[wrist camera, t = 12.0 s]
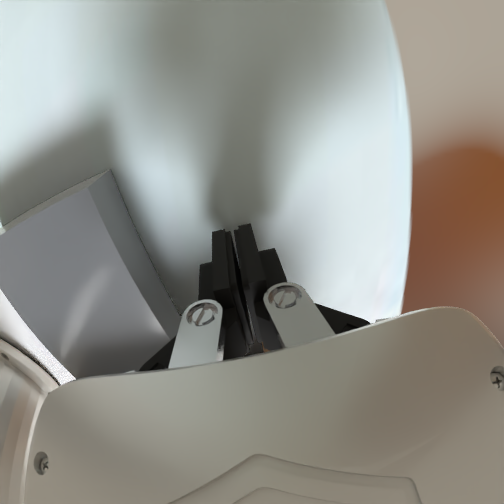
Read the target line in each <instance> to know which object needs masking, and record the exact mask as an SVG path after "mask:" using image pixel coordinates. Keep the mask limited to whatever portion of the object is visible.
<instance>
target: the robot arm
mask: <svg viewBox="0 0 504 504" xmlns="http://www.w3.org/2000/svg"><path fill="white" fill-rule="evenodd" d="M238 228H239V229H238V230H234V234H235V241H236V247H237V254H238V260H239V264H238V260H237V256H236V252H235V248H234V244H233V240H232V236H231V232H230V231H229V232H225V229H223V230H218V231H214V232H212V262H209V263H205V264H201V265H200V275H199V299H198V301H197V302H195V303H193V304H191V305H190V306H188V307H187V309H186V310H185V311H184V313H183V315H182V318H181V322H180V326H179V329H178V333H177V335H176V336H175V337H174V338H173V339H171V340H170V341H169V342H168V343H167V344H166V345H165V346H164V347H163V348H161V349H160V350H159V351H158V352H157V353H156V354H155V355H154V356H152V357H151V358H150V359H149V360H148V361H147V362H146V363H145V364H144V365H143V366H142V367H141V368H140V370H139V372H135V371H134V370H132V371H129V372H126V373H121V374H110V375H100V376H91V377H85V378H80V379H76V380H73V381H70V382H67V383H65V384H63V385H60V386H59V385H58V384H57V383H56V382H55V381H54V380H53V379H52V377H51V376H50V375H49V374H48V373H46V372H45V371H44V370H43V369H42V368H41V367H40V366H39V365H37V364H36V363H35V362H34V361H32V360H31V359H30V358H29V357H27V356H26V355H25V354H23V353H22V352H20V351H19V350H18V349H16V348H15V347H13V346H12V345H10V344H9V343H7V342H5V341H4V340H2V339H0V504H504V348H503V347H502V346H501V344H500V343H499V342H498V340H497V339H496V338H495V336H494V335H493V334H492V333H491V331H490V330H489V329H488V328H487V327H486V326H485V325H484V324H483V323H482V322H481V321H480V320H479V319H478V318H477V317H476V316H475V315H473V314H472V313H470V312H468V311H467V310H464V309H461V308H456V307H433V308H427V309H421V310H417V311H413V312H408V313H405V314H402V315H399V316H396V317H392V318H387V319H379V320H376V322H375V323H372V324H370V323H369V322H368V321H366V320H364V319H361V318H358V317H355V316H352V315H349V314H346V313H343V312H340V311H337V310H334V309H331V308H328V307H325V306H322V305H319V304H316V303H314V302H313V301H312V299H311V298H310V296H309V295H308V294H307V292H306V291H305V289H304V288H303V287H302V286H300V285H298V284H296V283H291V282H287V280H286V277H285V274H284V271H283V269H282V266H281V263H280V261H279V258H278V255H277V253H276V250H275V248H273V249H268V250H263V251H259V252H258V249H257V245H256V242H255V238H254V234H253V231H252V227H251V224H245V225H241V226H238ZM239 267H240V268H239ZM247 305H248V307H247ZM248 308H249V312H250V316H251V320H252V323H253V327H254V331H255V335H256V338H257V342H258V343H259V342H263V345H264V348H265V349H267V350H269V351H268V352H264V353H259V354H254V355H249V356H244V355H245V354H246V353H250V350H249V344H253V337H252V331H251V325H250V319H249V313H248ZM243 356H244V357H243Z"/></svg>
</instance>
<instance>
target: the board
mask: <svg viewBox="0 0 504 504" xmlns="http://www.w3.org/2000/svg"><path fill="white" fill-rule="evenodd" d="M0 289H1V290H2V292H3V293H4V295H5V296H6V297H7V299H8V300H9V302H10V303H11V305H12V306H13V307H14V309H15V310H16V311H17V313H18V314H19V315H20V317H21V318H22V319H23V321H24V322H25V323H26V324H27V326H28V327H29V328H30V329H31V331H32V332H33V333H34V334H35V335H36V337H37V338H38V339H39V340H40V341H41V342H42V344H43V345H44V346H45V347H46V348H47V349H48V350H49V351H50V352H51V354H52V355H53V356H54V357H55V358H56V359H57V360H58V361H59V362H60V363H61V364H62V365H63V366H64V367H65V368H66V369H67V370H68V371H69V372H70V373H71V374H72V375H73V376H74V377H75V378H76V379H80V378H85V377H91V376H100V375H110V374H121V373H126V372H129V371H132V370H134V371H135V372H139V370H140V368H141V367H142V366H143V365H144V364H145V363H146V362H147V361H148V360H149V359H150V358H151V357H152V356H154V355H155V354H156V353H157V352H158V351H159V350H160V349H161V348H163V347H164V346H165V345H166V344H167V343H168V342H169V341H170V340H171V339H173V338H174V337H175V336H176V335H177V333H178V329H179V326H180V322H181V317H180V315H179V313H178V311H177V310H176V308H175V306H174V304H173V302H172V300H171V299H170V297H169V295H168V293H167V291H166V289H165V287H164V286H163V284H162V282H161V280H160V278H159V276H158V274H157V272H156V270H155V268H154V266H153V264H152V262H151V260H150V258H149V256H148V254H147V252H146V250H145V248H144V246H143V244H142V241H141V239H140V237H139V235H138V233H137V231H136V229H135V226H134V224H133V222H132V220H131V217H130V215H129V213H128V211H127V208H126V206H125V204H124V201H123V199H122V197H121V194H120V192H119V189H118V187H117V184H116V182H115V179H114V177H113V174H112V172H111V169H109V170H107V171H104V172H102V173H100V174H98V175H95V176H93V177H91V178H89V179H87V180H85V181H83V182H81V183H79V184H76V185H74V186H72V187H70V188H68V189H66V190H65V191H63V192H61V193H59V194H57V195H55V196H53V197H51V198H49V199H48V200H46V201H44V202H42V203H40V204H39V205H37V206H35V207H33V208H32V209H30V210H28V211H27V212H25V213H23V214H22V215H20V216H18V217H17V218H15V219H14V220H12V221H10V222H9V223H7V224H6V225H4V226H3V227H2V228H0Z"/></svg>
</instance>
